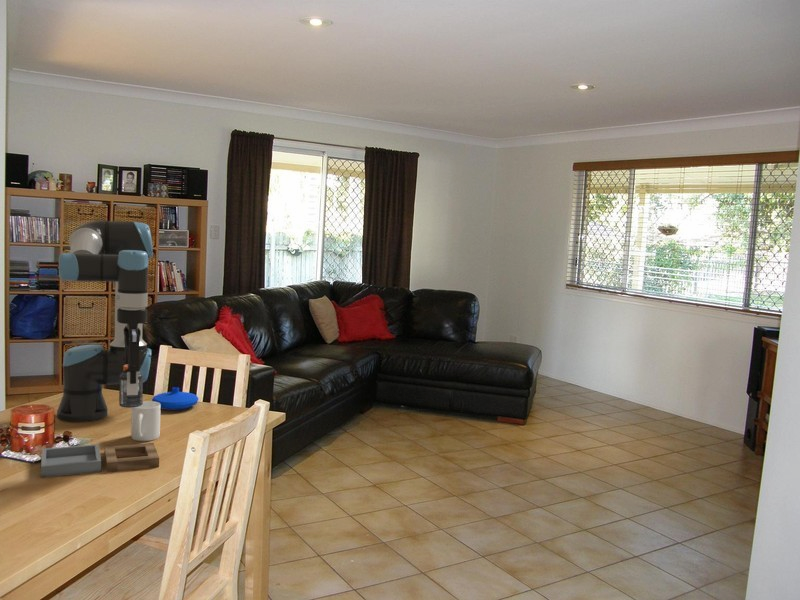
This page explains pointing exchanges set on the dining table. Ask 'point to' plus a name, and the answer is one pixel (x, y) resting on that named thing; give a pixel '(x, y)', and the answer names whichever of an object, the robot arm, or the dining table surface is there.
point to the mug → (146, 421)
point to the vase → (176, 399)
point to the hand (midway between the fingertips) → (131, 391)
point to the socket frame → (134, 462)
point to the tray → (70, 460)
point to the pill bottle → (125, 399)
